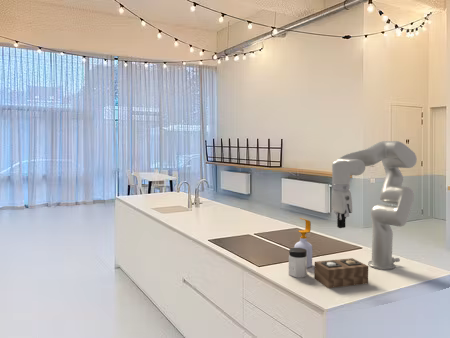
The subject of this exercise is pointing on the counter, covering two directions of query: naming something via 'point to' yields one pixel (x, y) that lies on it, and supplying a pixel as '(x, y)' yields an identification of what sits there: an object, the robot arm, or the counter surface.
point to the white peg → (331, 263)
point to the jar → (297, 262)
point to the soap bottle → (305, 242)
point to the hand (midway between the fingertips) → (341, 227)
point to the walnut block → (341, 273)
